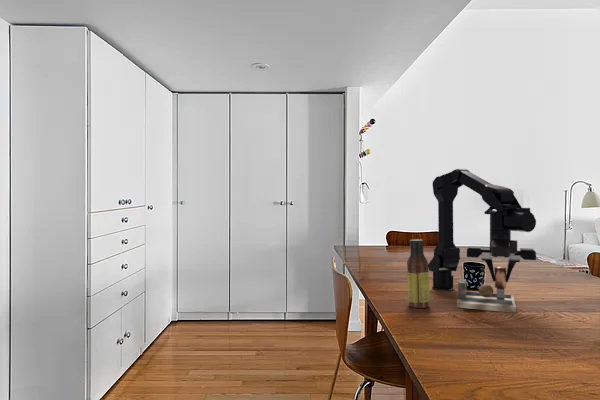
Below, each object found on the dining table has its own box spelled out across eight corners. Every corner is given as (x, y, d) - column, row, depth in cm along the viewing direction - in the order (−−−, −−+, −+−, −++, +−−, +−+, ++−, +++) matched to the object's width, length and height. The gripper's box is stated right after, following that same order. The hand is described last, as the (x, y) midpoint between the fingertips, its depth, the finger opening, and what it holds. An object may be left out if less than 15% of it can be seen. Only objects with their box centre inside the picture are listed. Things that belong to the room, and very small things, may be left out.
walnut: (478, 298, 134) (478, 284, 134) (479, 295, 138) (479, 282, 138) (493, 299, 133) (493, 285, 133) (493, 296, 136) (493, 283, 136)
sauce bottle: (430, 304, 134) (430, 239, 134) (429, 309, 128) (429, 241, 128) (408, 303, 137) (408, 238, 136) (406, 308, 131) (405, 240, 131)
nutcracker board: (457, 307, 131) (457, 285, 131) (460, 296, 146) (460, 276, 146) (515, 312, 125) (515, 289, 125) (513, 300, 140) (513, 279, 140)
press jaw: (494, 300, 132) (494, 268, 132) (494, 296, 137) (494, 265, 137) (506, 301, 130) (506, 269, 130) (505, 297, 136) (505, 266, 136)
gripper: (465, 230, 130) (465, 284, 130) (537, 232, 123) (538, 289, 123) (467, 228, 140) (467, 277, 140) (534, 229, 133) (534, 282, 133)
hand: (500, 281), depth 134 cm, fingers closed on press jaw, 3 cm apart
